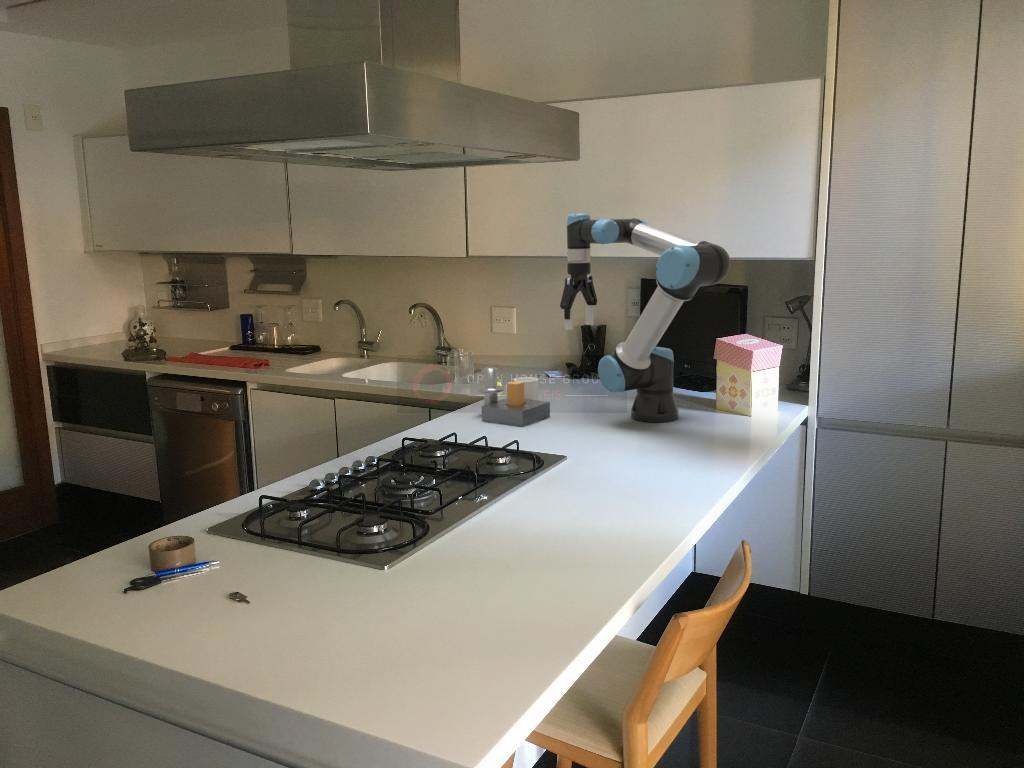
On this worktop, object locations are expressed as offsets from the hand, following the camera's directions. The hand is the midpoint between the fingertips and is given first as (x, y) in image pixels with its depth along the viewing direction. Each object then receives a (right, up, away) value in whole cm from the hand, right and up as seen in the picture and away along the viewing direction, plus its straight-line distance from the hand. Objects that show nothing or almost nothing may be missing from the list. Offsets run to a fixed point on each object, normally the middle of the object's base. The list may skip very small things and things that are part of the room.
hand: (579, 327), depth 275 cm
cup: (-19, -27, +14) cm, 36 cm away
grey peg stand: (-23, -30, -1) cm, 38 cm away
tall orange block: (-21, -30, -3) cm, 37 cm away
